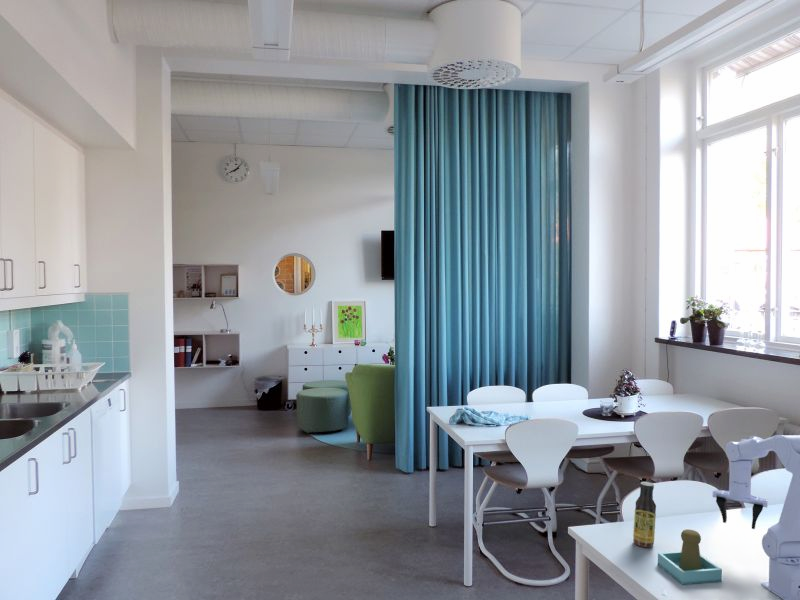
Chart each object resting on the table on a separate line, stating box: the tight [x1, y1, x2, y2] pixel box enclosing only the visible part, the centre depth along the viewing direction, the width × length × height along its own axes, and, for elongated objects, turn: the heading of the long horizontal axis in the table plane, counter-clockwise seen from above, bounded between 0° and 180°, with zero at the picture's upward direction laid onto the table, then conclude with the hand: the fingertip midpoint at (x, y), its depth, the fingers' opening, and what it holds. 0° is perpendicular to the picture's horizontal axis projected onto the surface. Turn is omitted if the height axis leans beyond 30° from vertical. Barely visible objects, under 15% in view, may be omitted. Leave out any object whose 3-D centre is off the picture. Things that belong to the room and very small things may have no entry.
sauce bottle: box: [632, 481, 657, 549], centre depth 190 cm, size 7×6×20 cm
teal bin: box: [657, 550, 723, 586], centre depth 172 cm, size 12×12×4 cm
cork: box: [679, 529, 702, 571], centre depth 173 cm, size 6×6×11 cm
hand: (738, 524), depth 182 cm, fingers open, 7 cm apart
